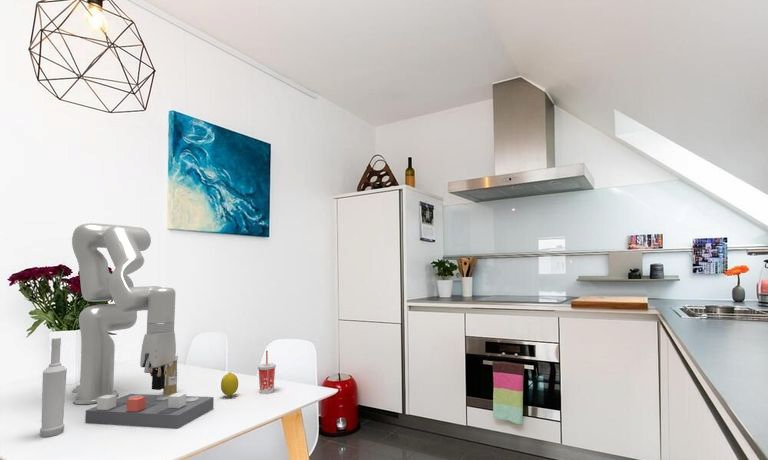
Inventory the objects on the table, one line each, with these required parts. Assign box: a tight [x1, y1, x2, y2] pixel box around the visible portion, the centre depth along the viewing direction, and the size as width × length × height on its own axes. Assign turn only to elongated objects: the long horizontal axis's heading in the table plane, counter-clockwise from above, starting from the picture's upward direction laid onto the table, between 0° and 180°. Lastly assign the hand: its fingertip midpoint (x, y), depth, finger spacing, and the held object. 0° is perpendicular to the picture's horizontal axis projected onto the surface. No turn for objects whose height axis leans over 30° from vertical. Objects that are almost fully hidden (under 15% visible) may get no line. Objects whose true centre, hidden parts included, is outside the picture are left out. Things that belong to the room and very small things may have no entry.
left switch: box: [96, 395, 117, 410], centre depth 121 cm, size 4×3×3 cm
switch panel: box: [84, 393, 215, 429], centre depth 124 cm, size 30×16×4 cm, turn 78°
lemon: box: [220, 372, 239, 398], centre depth 141 cm, size 6×6×8 cm
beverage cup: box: [257, 350, 277, 395], centre depth 146 cm, size 6×6×14 cm
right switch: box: [168, 392, 187, 408], centre depth 121 cm, size 4×3×3 cm
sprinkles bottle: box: [162, 353, 179, 395], centre depth 146 cm, size 5×5×14 cm
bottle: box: [39, 337, 68, 438], centre depth 113 cm, size 5×5×25 cm
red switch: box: [127, 396, 146, 412], centre depth 119 cm, size 4×3×3 cm
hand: (158, 388), depth 128 cm, fingers closed
